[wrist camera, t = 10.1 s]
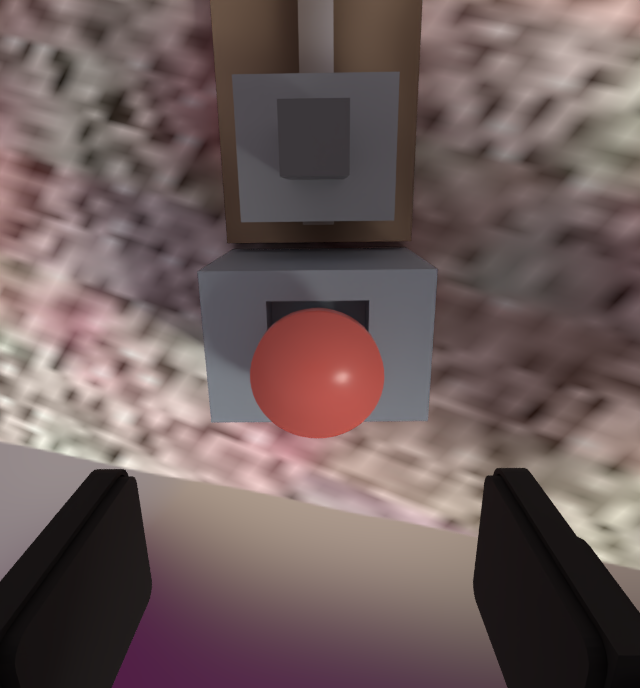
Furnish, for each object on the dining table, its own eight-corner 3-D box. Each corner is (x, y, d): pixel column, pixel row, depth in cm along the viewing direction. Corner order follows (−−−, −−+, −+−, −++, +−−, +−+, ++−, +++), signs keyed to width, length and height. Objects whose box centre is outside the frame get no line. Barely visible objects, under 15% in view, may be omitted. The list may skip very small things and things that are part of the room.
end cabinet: (405, 247, 27) (437, 268, 19) (400, 361, 29) (427, 421, 22) (233, 249, 27) (197, 271, 20) (240, 362, 29) (211, 422, 22)
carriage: (389, 88, 23) (423, 32, 15) (385, 216, 25) (414, 228, 17) (245, 91, 23) (201, 36, 15) (252, 218, 25) (216, 231, 17)
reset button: (375, 290, 20) (386, 312, 17) (372, 397, 22) (382, 437, 18) (260, 292, 20) (245, 313, 17) (265, 397, 22) (253, 438, 18)
